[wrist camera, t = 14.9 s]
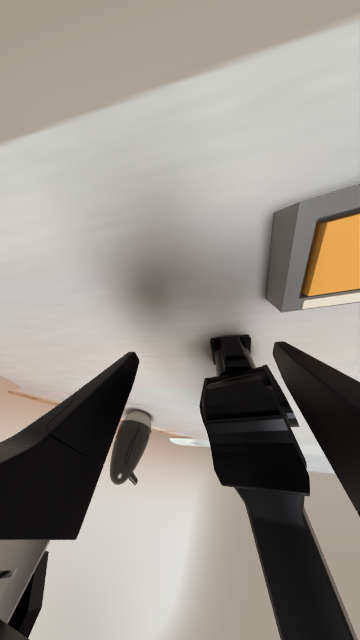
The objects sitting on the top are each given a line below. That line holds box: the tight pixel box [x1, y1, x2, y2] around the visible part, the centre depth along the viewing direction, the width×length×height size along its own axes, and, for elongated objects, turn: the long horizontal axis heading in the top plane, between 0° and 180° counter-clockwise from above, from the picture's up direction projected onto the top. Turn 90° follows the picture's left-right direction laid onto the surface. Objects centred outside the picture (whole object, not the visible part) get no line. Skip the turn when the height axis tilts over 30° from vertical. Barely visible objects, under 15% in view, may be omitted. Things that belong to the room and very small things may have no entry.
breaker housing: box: [266, 184, 360, 312], centre depth 12 cm, size 10×10×4 cm
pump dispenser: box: [110, 411, 151, 485], centre depth 38 cm, size 10×10×15 cm
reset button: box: [301, 211, 360, 296], centre depth 12 cm, size 6×6×3 cm
